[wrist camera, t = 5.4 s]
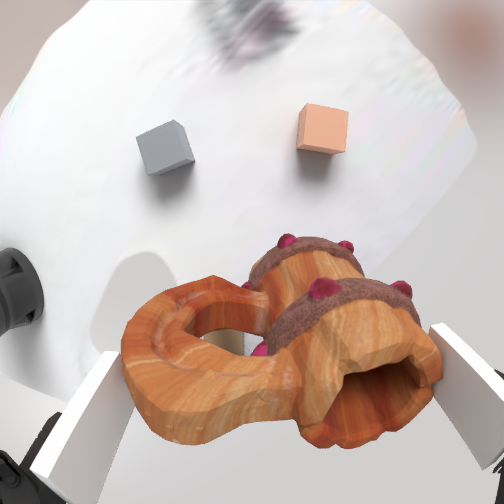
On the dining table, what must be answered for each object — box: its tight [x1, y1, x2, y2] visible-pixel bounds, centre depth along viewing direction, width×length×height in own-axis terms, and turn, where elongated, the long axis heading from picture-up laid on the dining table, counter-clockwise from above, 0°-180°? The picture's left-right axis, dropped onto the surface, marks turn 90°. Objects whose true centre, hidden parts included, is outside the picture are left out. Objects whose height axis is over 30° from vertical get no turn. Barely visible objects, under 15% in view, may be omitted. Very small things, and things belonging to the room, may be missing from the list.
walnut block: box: [204, 329, 244, 355], centre depth 38 cm, size 5×5×5 cm
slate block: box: [136, 120, 195, 175], centre depth 31 cm, size 5×5×5 cm
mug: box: [121, 234, 443, 449], centre depth 15 cm, size 15×8×15 cm, turn 84°
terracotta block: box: [296, 103, 348, 154], centre depth 31 cm, size 5×5×5 cm
